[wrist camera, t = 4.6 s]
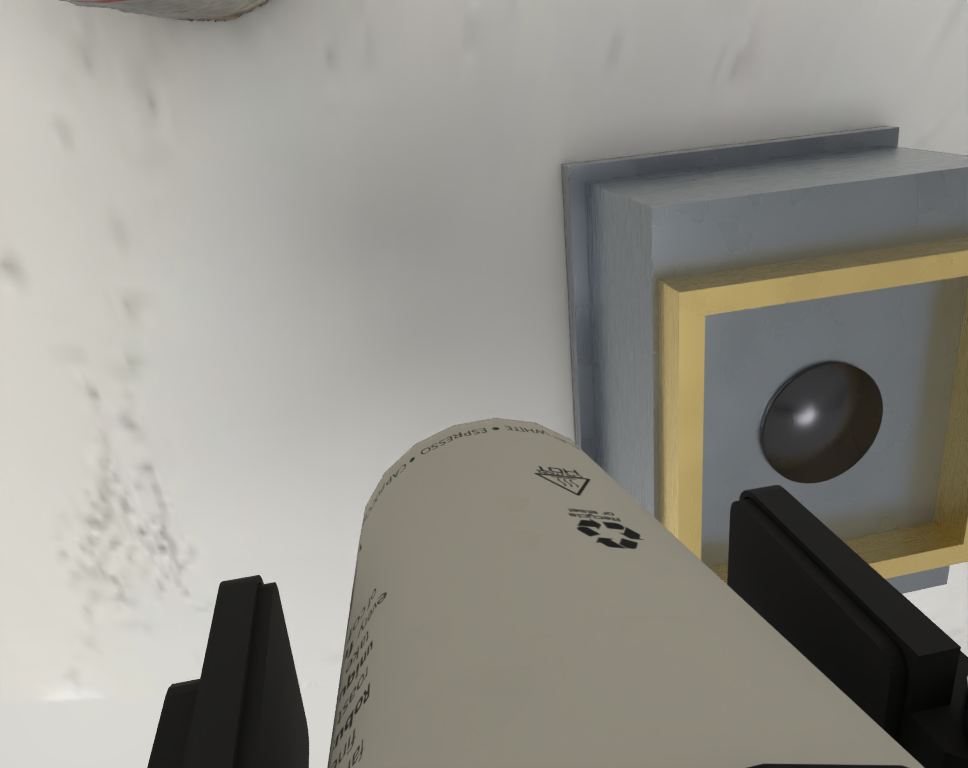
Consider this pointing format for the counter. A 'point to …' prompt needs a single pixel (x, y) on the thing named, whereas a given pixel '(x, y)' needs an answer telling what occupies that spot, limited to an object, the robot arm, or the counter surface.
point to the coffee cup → (562, 630)
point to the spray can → (179, 8)
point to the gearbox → (779, 338)
